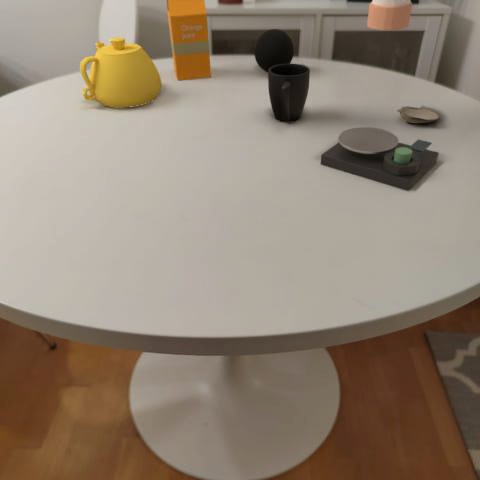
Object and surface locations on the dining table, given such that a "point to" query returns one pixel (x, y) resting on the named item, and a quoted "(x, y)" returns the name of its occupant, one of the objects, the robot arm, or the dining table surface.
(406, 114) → the seashell
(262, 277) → the dining table surface
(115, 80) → the teapot
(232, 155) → the dining table surface
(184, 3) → the orange juice
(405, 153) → the tare button
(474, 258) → the dining table surface
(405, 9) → the salt shaker
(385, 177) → the scale
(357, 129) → the scale pan
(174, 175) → the dining table surface
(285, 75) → the mug
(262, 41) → the decorative ball
